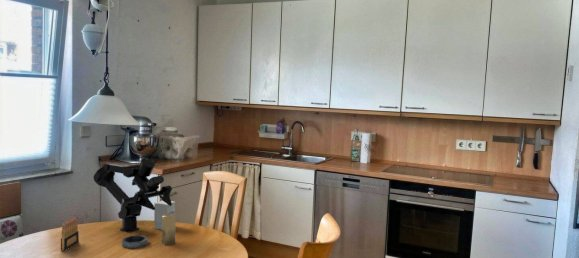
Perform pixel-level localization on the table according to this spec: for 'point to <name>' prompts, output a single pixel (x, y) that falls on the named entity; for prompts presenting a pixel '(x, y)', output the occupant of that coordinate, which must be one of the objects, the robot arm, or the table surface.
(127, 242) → the ring collar
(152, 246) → the table surface
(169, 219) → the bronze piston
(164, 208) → the supplement box
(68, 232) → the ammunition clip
